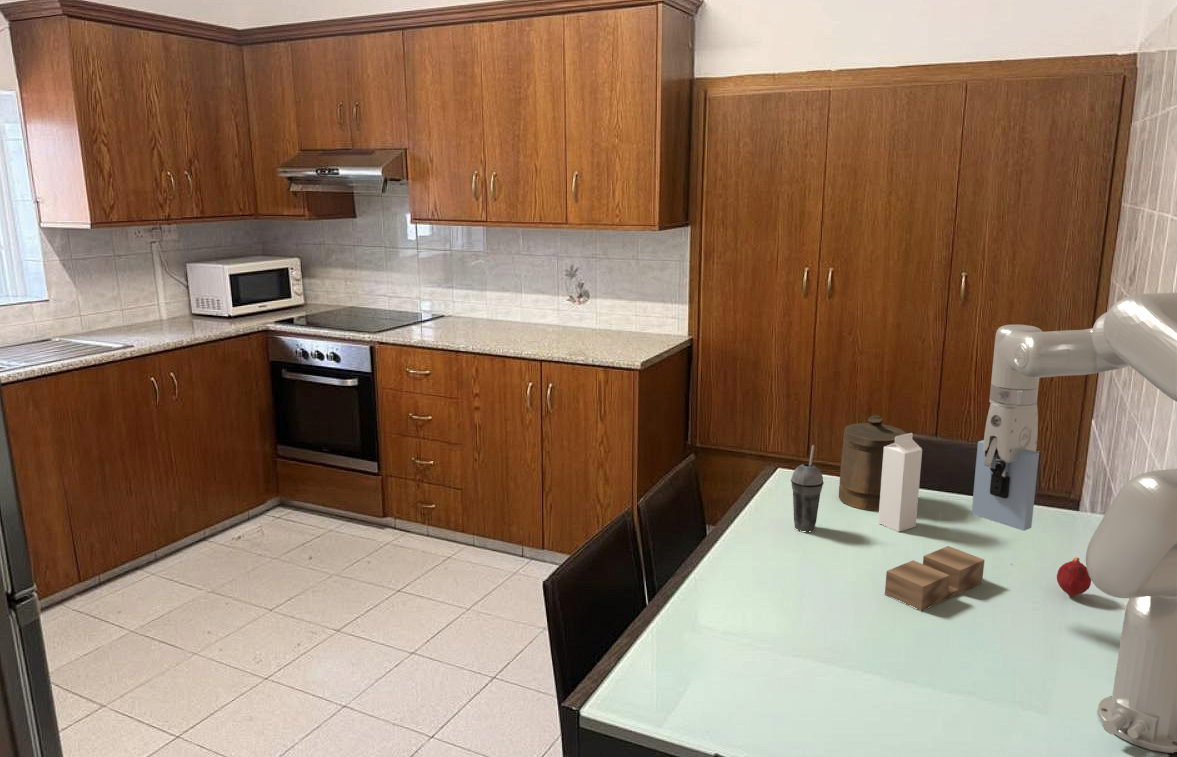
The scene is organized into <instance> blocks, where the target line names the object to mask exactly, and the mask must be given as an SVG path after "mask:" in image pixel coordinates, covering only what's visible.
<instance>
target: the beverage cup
mask: <svg viewBox="0 0 1177 757" xmlns="http://www.w3.org/2000/svg"><path fill="white" fill-rule="evenodd" d="M810 450H811V451H810V457H809V463H802V464H800V465H798V466H797V467H796V468H795V469H794V470H793V472H792V476H791V479H790V482H791V489H792V500H793V501H792V502H793V505H792V506H793V522H794V523H793V524H794V529H795V528H796V529H798V530H801V531H806V532H805V533H810V532H809V531H813V530H814V529H816V524H817V519H818V512H819V505H820V504H819V503H820V497H821V493H822V489H823V485H824V484H825V483H824V477H823V474H822V472H821V470H820V469H819V467H817V466H816V465H814V464H813V459H814V452H815V445H814V444H812V445H811V449H810ZM796 529H795V530H796ZM814 531H815V530H814ZM814 531H813V532H814Z"/></svg>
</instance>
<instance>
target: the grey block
mask: <svg viewBox="0 0 1177 757" xmlns="http://www.w3.org/2000/svg"><path fill="white" fill-rule="evenodd" d="M983 444H984V439H983V440H979V441H978V442H977V450H976V461H975V470H974V471H975V472H974V473H975V474H974V484H973V495H972V505H971V514H972V515H973V516H976V517H980V518H982V519H986V520H989V521H993V522H995V523H998V524H1000V525H1005V526H1008V527H1011V528H1014V529H1018V530H1020V531H1027V530H1030V529H1032V526H1033V525H1032V524H1033V515H1034V506H1035V497H1036V489H1037V488H1036V487H1037V486H1036V485H1037V477H1038V468H1039V460H1040V459H1039V458H1040V452H1038V451H1036V452H1035V451H1031V450H1025V451H1022V452H1020V456H1019V460H1018V461H1015V462H1012V463H1010V464H1009V472H1008V477H1010V484H1009V494H1008V498H1001V497H998V496H994V495H991V494H990V484H991V473H990V468H989V467H987V466H985V465H984V462H985V459H986V457H985V456H984V453H983ZM997 457H1000V456H999V455H997ZM997 463H999V464H1001V465H1002V467H1003V463H1000V462H997Z"/></svg>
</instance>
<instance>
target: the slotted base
mask: <svg viewBox="0 0 1177 757" xmlns="http://www.w3.org/2000/svg"><path fill="white" fill-rule="evenodd" d="M922 559H923V561H922V563H921V562H918V561H916V560H914V559H913V560H911V561H908V562H905V563H902V564H900V565H897V566H895V567H894V568H890V569H889V570H886V574H885V576H886V577H885V586H884V588H885V589H884V595H885V594H887V595H889V596H891V597H893V598H895V599H897V600H900V601H902V602H904V603H906V604H908V605H911V606H913V607H915V608H917V609H919V610H923V609H925V610H927V609H929V608H931V607H934V606H936V605H937V603H938V604H940V603H942V602H944V601H946V600H949V599H950V598H952V597H956V596H957V595H959V594H961V593H964V592H966V591H969V589H972V588H975V587H977V586H978V585H981V584H982V583H983V578H984V577H983V576H984V568H985V559H984V558H981V557H979V556H975V555H973V554H970V553H968V552H966V551H963V550H960V549H957V548H954V547H951V546H949V545H947V546H945V547H942V548H940V549H938V550H935V551H931V552H930V553H927V554H925V555H923V558H922ZM889 596H888V597H889ZM891 597H890V598H891ZM893 598H892V599H893ZM895 599H894V600H895ZM897 600H896V601H897ZM902 602H901V603H902ZM939 602H940V603H939ZM904 603H903V604H904ZM906 604H905V605H906ZM935 604H936V605H935ZM908 605H907V606H908ZM930 606H931V607H930ZM913 607H912V608H913ZM928 607H929V608H928ZM915 608H914V609H915ZM926 608H927V609H926ZM917 609H916V610H917ZM919 610H918V611H919ZM923 611H924V610H923Z"/></svg>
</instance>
